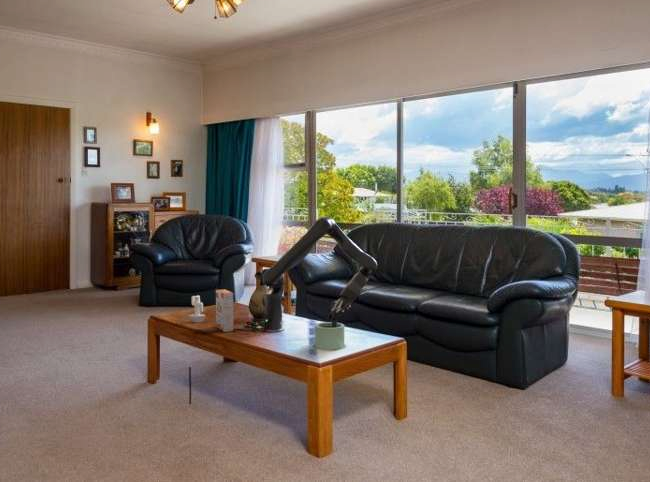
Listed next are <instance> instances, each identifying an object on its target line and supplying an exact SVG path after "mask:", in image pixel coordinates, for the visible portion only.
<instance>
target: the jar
mask: <svg viewBox="0 0 650 482" xmlns="http://www.w3.org/2000/svg"><path fill="white" fill-rule="evenodd" d="M314 347H315V348H316V349H318V350H324V351H333V350H334V351H335V350H336V351H337V350H340V349H343V348H344V347H345V324H344V323H341V322H337V327H336V328H332V321H326V322H319V323H316V324H314Z"/></svg>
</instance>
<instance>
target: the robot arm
mask: <svg viewBox="0 0 650 482" xmlns="http://www.w3.org/2000/svg"><path fill="white" fill-rule="evenodd" d="M326 235H327V236H329V237H331V239H333V240H334V241H335V242H336V244H338V246H339V248H340V249H341V250H342V252H343V253H344V254H345V255H346V256H347V257H348V258H349V259H350V260H351V261H352V262H353V263H358V264H360V265H361V267H360V268H359V270H358V271H357V272H356V273H355V274H354V275H353V277H352V278H351V280H349V282H347V284H346V285H345V287H344V288H343V289H342V290H341V292H340V293H339V298H338V299H337V300H335V299H333V300H332V301H331V304H330V307H329V310H330V312H329V314H328V315H327V319H328V320H329V321H332V320H333V321H335V320H336V319H337V320H338V318H339V317H340V316H344V315H345V314H346V313H348V312H349V311H350V310H351V309H352V306H351V304H353V303H354V301H356V299H357V297H358V296H359V295H360V294H361V291H362V290H363V288H364V287H365V286H366V284H367V283H368V281H369V280H370V278H371V277H372V276H373V275H374V274H375V272H376V270H377V268H378V263H377V261H376V260H375V258H374V257H372V256H371V255H369V254H368V253H366V252H364V251H363V250H362V249H361V248H360V247H359V246H358V245H357V244H356V243H355V242H353V240H351V239H350V238H349V237H348V236H347V235H346V233H345V232H344V231H343V230H342V229H341V228H340V226H339V225H338V224H337V223H336V222H335V220H334V219H333V218H332V217H330V216H322V217H318V218H317V219H316V220H315V221H314V223H313V224H312V225H311V226H310V227H309V229H308V230H307V231H306V232H305V233H304V234H303V235H302V236H301V237H300V238H298V239H297V240H296V241H295V242H294V243H293V244H292V245H291V246H290V247H289V248H288V249H287V250H286V251H285V253H283V254H282V256H281V257H280V258H279V259H278V260H277V261H276V262H274V264H273V265H271V266H270V267H269V268H268V270H267V271H265V273H264V274H263V277H262V281H263V283H264V285H266V286H268V291H267V292H266V294H265V314H264V320H262V321H260V323H258V324H256V325H255V326H254V327H253V329H245V328H233V331H243V332H255V331H256V330H257V327H260V328H263V329H264V330H263V331H264V332H268V333H269V332H271V333H277V332H281V331H283V295H284V289H285V275H284V274H286V272H288V271H289V270H291V269H292V268H294V267H296V266H297V265H298V264H300V263H301V262H303V260H304V259H305V258H307V256H308V255H309V254H310V253H311V251H312V249H313V247H314V245H315V244H316V243H317V242H318V241H320V240H321V239H322V238H323V237H325V236H326ZM332 310H337V311H336V312H335V314H334V315H333V316H332ZM198 332H200V333H205V334H210V333H220V332H223V330H220V329H216V330H204V329H197V330H195V331H194V332H193V334H197V333H198ZM191 368H192V367H191V366H189V367H188V385H189V386H188V387H189V389H188V390H189V392H188V393H189V394H188V397H189V398H188V399H189V400H188V401H189V402H188V405H189V404H191V405H192V369H191Z"/></svg>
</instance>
